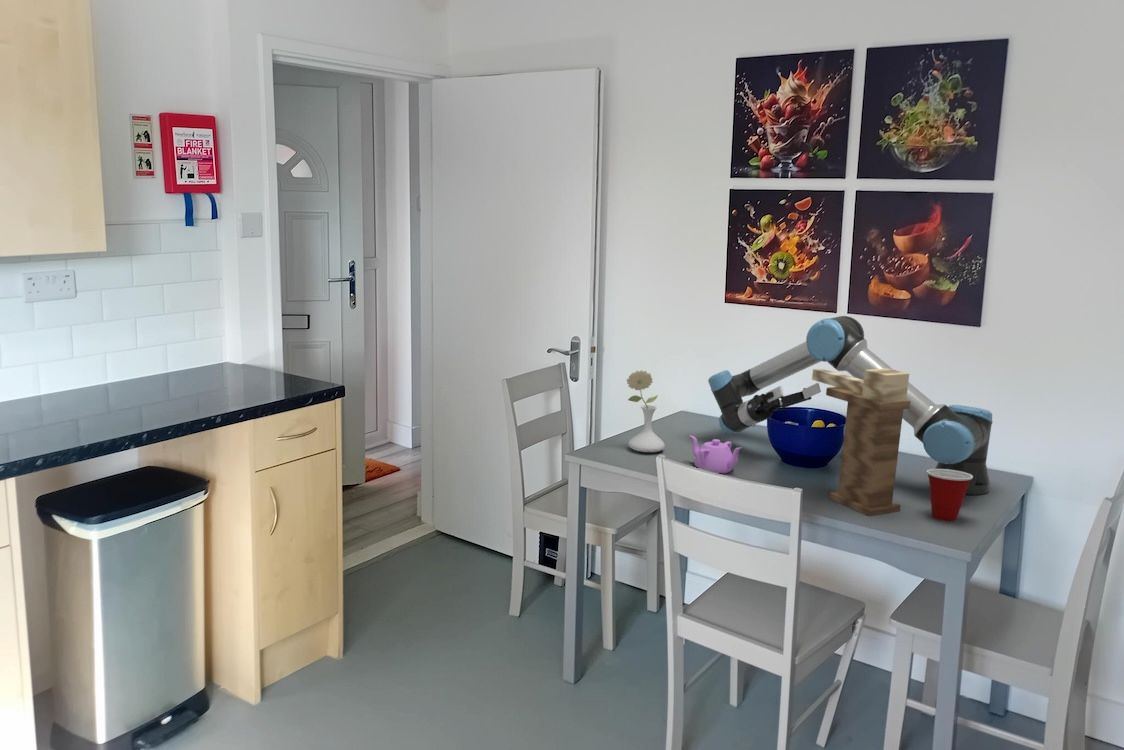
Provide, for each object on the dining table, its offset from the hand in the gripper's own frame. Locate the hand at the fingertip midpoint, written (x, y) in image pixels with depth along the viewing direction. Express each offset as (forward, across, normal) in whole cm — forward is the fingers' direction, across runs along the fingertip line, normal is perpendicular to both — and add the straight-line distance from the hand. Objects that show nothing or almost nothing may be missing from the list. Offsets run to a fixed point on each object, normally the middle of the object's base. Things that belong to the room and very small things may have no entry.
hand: (800, 389), depth 250 cm
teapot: (-23, +20, -16) cm, 34 cm away
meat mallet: (+19, 0, -6) cm, 20 cm away
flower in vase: (-43, +29, -4) cm, 52 cm away
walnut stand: (+8, 0, -34) cm, 35 cm away
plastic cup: (+24, -13, -43) cm, 51 cm away
